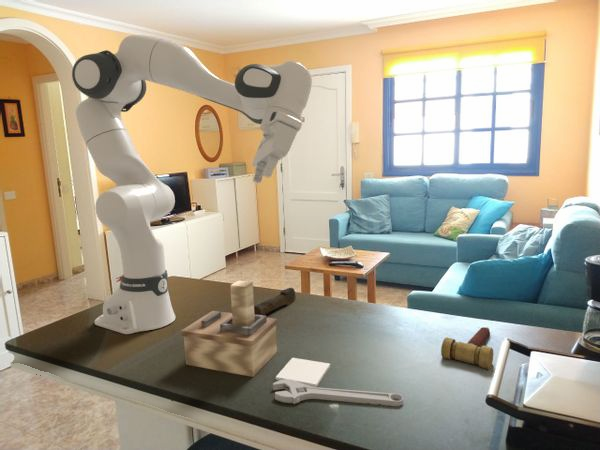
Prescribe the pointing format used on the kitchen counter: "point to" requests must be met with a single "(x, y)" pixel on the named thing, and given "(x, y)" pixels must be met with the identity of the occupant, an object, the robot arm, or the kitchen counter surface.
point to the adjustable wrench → (331, 394)
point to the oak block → (242, 303)
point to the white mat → (304, 371)
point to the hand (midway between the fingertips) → (261, 179)
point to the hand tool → (275, 302)
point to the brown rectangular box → (230, 343)
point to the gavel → (470, 349)
